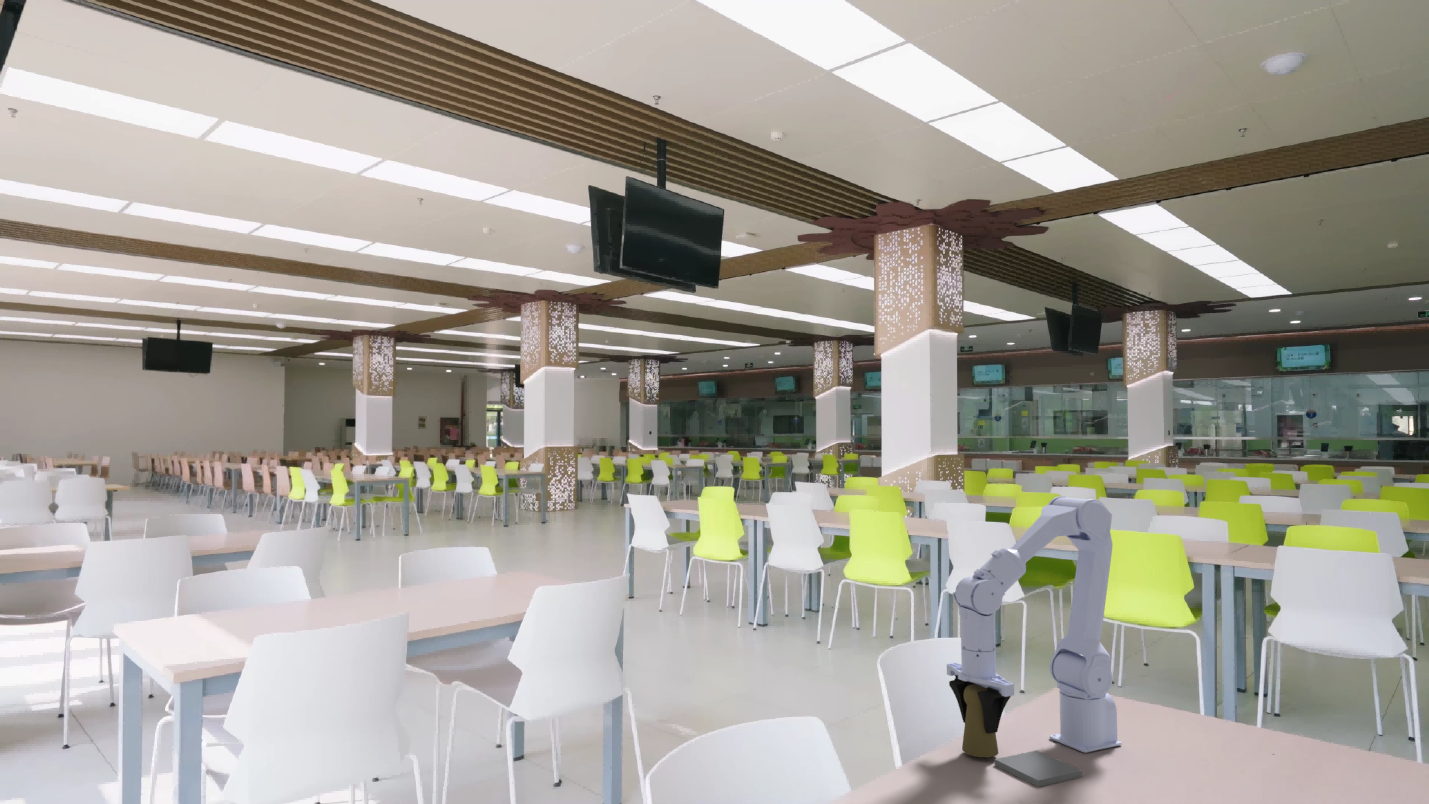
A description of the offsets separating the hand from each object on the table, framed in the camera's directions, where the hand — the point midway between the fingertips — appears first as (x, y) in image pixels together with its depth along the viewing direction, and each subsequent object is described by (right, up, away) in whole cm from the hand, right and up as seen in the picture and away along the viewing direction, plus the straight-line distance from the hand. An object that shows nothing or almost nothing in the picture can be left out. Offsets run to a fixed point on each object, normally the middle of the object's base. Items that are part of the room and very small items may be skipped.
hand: (980, 727), depth 141 cm
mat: (+7, -5, -7) cm, 11 cm away
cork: (0, -4, 0) cm, 4 cm away
